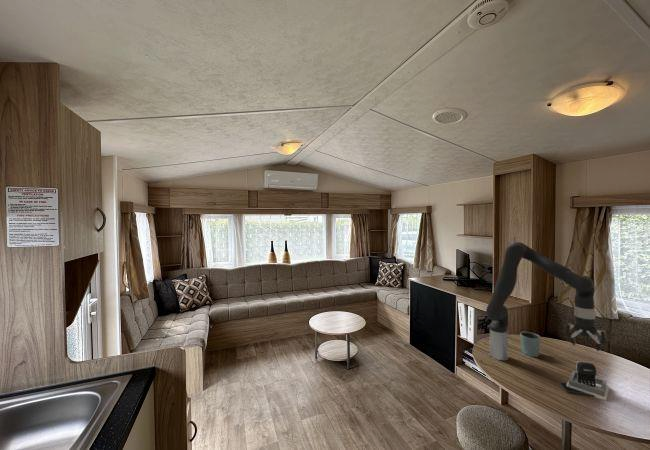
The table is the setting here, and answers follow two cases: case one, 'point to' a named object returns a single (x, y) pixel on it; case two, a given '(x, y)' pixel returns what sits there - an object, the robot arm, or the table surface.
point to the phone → (573, 390)
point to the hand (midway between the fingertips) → (585, 347)
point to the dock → (590, 387)
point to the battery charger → (586, 373)
